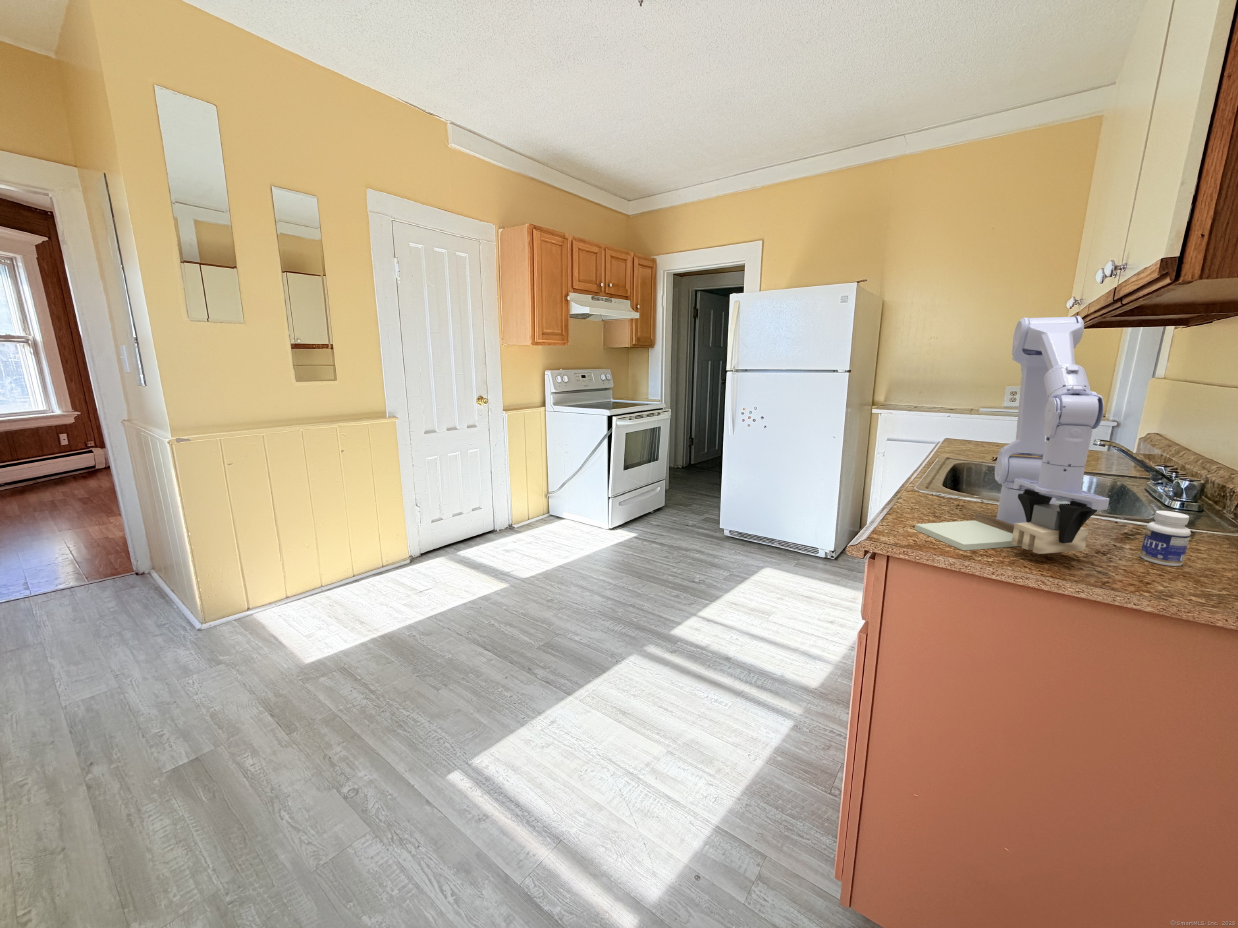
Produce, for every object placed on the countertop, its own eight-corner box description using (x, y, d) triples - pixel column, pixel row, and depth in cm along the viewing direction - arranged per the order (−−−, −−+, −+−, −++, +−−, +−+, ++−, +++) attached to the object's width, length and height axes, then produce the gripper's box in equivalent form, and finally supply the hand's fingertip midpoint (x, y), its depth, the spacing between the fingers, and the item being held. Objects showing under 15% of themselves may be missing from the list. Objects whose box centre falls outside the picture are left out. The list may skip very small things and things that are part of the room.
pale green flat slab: (978, 525, 107) (980, 513, 106) (1033, 545, 95) (1035, 531, 95) (914, 529, 104) (916, 517, 104) (963, 550, 93) (965, 536, 92)
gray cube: (1048, 521, 90) (1052, 503, 90) (1072, 528, 87) (1075, 510, 86) (1030, 523, 90) (1034, 504, 89) (1053, 530, 86) (1057, 511, 85)
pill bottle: (1130, 554, 91) (1141, 509, 89) (1160, 555, 90) (1171, 509, 89) (1161, 566, 85) (1172, 518, 84) (1192, 566, 85) (1204, 518, 83)
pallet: (1055, 540, 92) (1059, 520, 91) (1084, 550, 87) (1088, 528, 87) (1011, 543, 90) (1014, 523, 90) (1038, 553, 86) (1042, 532, 85)
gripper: (1005, 456, 92) (993, 525, 95) (1090, 473, 78) (1074, 553, 81) (1036, 455, 93) (1023, 523, 96) (1125, 471, 79) (1108, 550, 82)
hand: (1049, 536), depth 89 cm, fingers closed on pallet, 5 cm apart
